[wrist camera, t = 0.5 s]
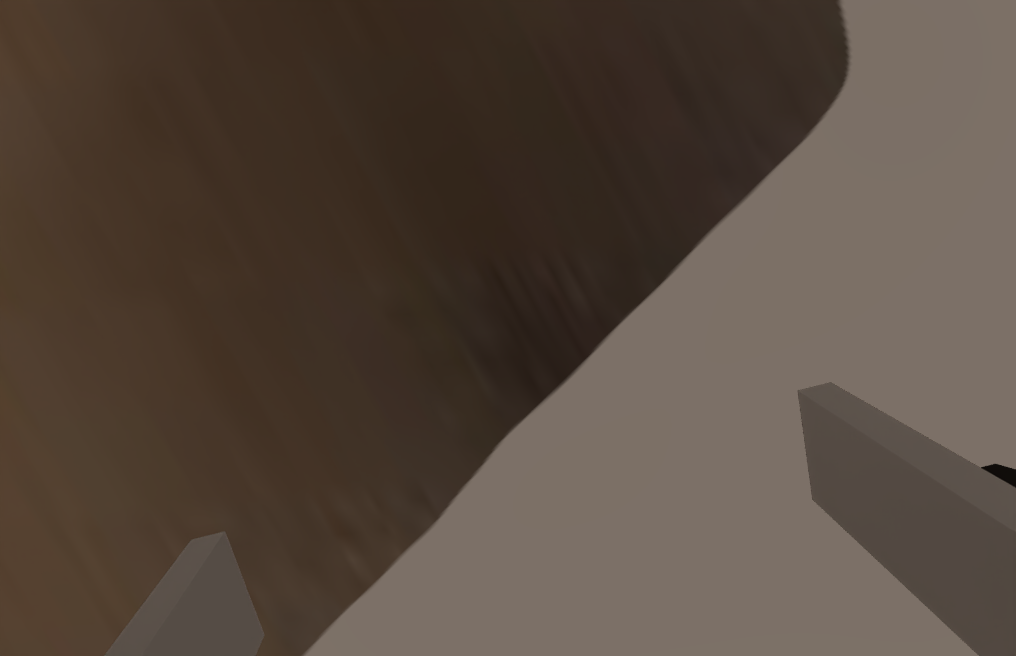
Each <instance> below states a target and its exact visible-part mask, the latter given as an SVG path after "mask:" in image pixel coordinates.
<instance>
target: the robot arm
mask: <svg viewBox="0 0 1016 656" xmlns="http://www.w3.org/2000/svg"><path fill="white" fill-rule="evenodd" d="M798 397H799V404H800V411H801V419H802V426H803V434H804V441H805V448H806V455H807V463H808V471H809V478H810V485H811V493H812V499H813V501H815V502H816V503H817V504H818V505H819V506H820V507H821V508H822V509H823V510H824V511H825V512H826V513H827V514H829V516H831V517H832V518H833V519H834V520H835V521H836V522H837V523H838V524H839V525H840V526H841V527H842V528H843V529H844V530H845V531H847V532H848V533H849V534H850V535H851V536H852V537H853V538H854V539H855V540H856V541H857V542H858V543H859V544H860V545H862V546H863V547H864V548H865V549H866V550H867V551H868V552H869V553H870V554H871V555H872V556H873V557H874V558H875V559H876V560H878V562H880V563H881V564H882V565H883V566H884V567H885V568H886V569H887V570H888V571H889V572H890V573H891V574H893V576H895V577H896V578H897V579H898V580H899V581H900V582H901V583H902V584H903V585H904V586H905V587H906V588H907V589H908V590H910V591H911V592H912V593H913V594H914V595H915V596H916V597H917V598H918V599H919V600H920V601H921V602H922V603H923V604H924V605H925V606H927V607H928V608H929V609H930V610H931V611H932V612H933V613H934V614H935V615H936V616H937V617H938V618H939V619H940V620H941V621H942V622H944V623H945V624H946V625H947V626H948V627H949V628H950V629H951V630H952V631H953V632H954V633H956V635H957V636H958V637H960V638H961V639H962V640H963V641H964V642H965V643H966V644H967V645H968V646H969V647H970V648H971V649H972V650H974V652H976V653H977V654H978V655H979V656H1016V469H1012V468H1008V467H1005V466H1002V465H998V464H993V465H989V466H985V467H981V468H980V467H978V466H977V465H975V464H973V463H971V462H970V461H968V460H966V459H964V458H963V457H961V456H959V455H957V454H956V453H954V452H952V451H950V450H948V449H947V448H945V447H943V446H941V445H940V444H938V443H936V442H934V441H933V440H931V439H929V438H928V437H926V436H924V435H922V434H921V433H919V432H917V431H915V430H913V429H912V428H910V427H908V426H906V425H904V424H903V423H901V422H899V421H898V420H896V419H894V418H892V417H891V416H889V415H887V414H885V413H884V412H882V411H880V410H878V409H877V408H875V407H873V406H871V405H870V404H868V403H866V402H864V401H863V400H861V399H859V398H857V397H855V396H854V395H852V394H850V393H848V392H847V391H845V390H843V389H842V388H840V387H838V386H836V385H835V384H833V383H827V384H823V385H818V386H814V387H810V388H806V389H802V390H798ZM263 637H264V633H263V630H262V628H261V625H260V622H259V620H258V617H257V614H256V612H255V609H254V607H253V604H252V601H251V599H250V596H249V593H248V591H247V588H246V585H245V583H244V580H243V578H242V575H241V572H240V570H239V567H238V564H237V562H236V559H235V557H234V554H233V551H232V549H231V546H230V543H229V541H228V538H227V535H226V533H225V532H221V533H217V534H213V535H209V536H205V537H200V538H196V539H192V540H191V541H190V542H189V544H188V545H187V546H186V548H185V549H184V550H183V552H182V553H181V554H180V556H179V557H178V558H177V560H176V561H175V562H174V564H173V565H172V566H171V568H170V569H169V570H168V572H167V573H166V574H165V576H164V577H163V578H162V579H161V581H160V582H159V583H158V585H157V586H156V587H155V589H154V590H153V591H152V593H151V594H150V595H149V597H148V598H147V599H146V601H145V602H144V603H143V605H142V606H141V607H140V609H139V610H138V611H137V613H136V614H135V615H134V617H133V618H132V619H131V621H130V622H129V623H128V625H127V626H126V627H125V629H124V630H123V631H122V633H121V634H120V635H119V637H118V638H117V639H116V641H115V642H114V643H113V645H112V646H111V647H110V649H109V650H108V651H107V653H106V654H105V655H104V656H255V655H256V653H257V651H258V648H259V646H260V644H261V642H262V639H263Z"/></svg>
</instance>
